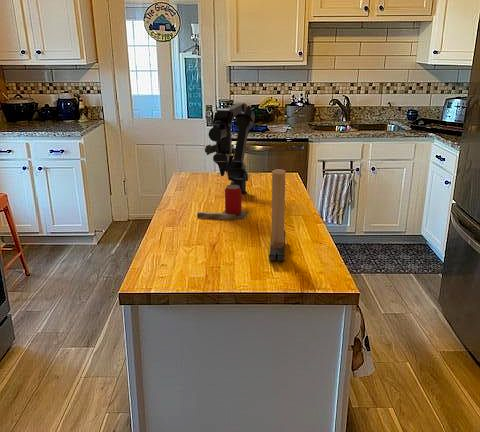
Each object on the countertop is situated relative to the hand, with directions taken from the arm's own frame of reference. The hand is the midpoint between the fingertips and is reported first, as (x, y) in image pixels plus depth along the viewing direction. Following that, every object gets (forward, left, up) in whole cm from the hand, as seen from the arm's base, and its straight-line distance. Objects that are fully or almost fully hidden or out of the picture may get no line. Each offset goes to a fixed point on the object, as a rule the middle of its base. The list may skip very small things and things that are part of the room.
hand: (224, 173), depth 210 cm
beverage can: (+4, +18, -13) cm, 23 cm away
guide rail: (+12, +18, -13) cm, 26 cm away
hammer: (+8, +59, -13) cm, 62 cm away
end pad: (+5, +18, -13) cm, 23 cm away
